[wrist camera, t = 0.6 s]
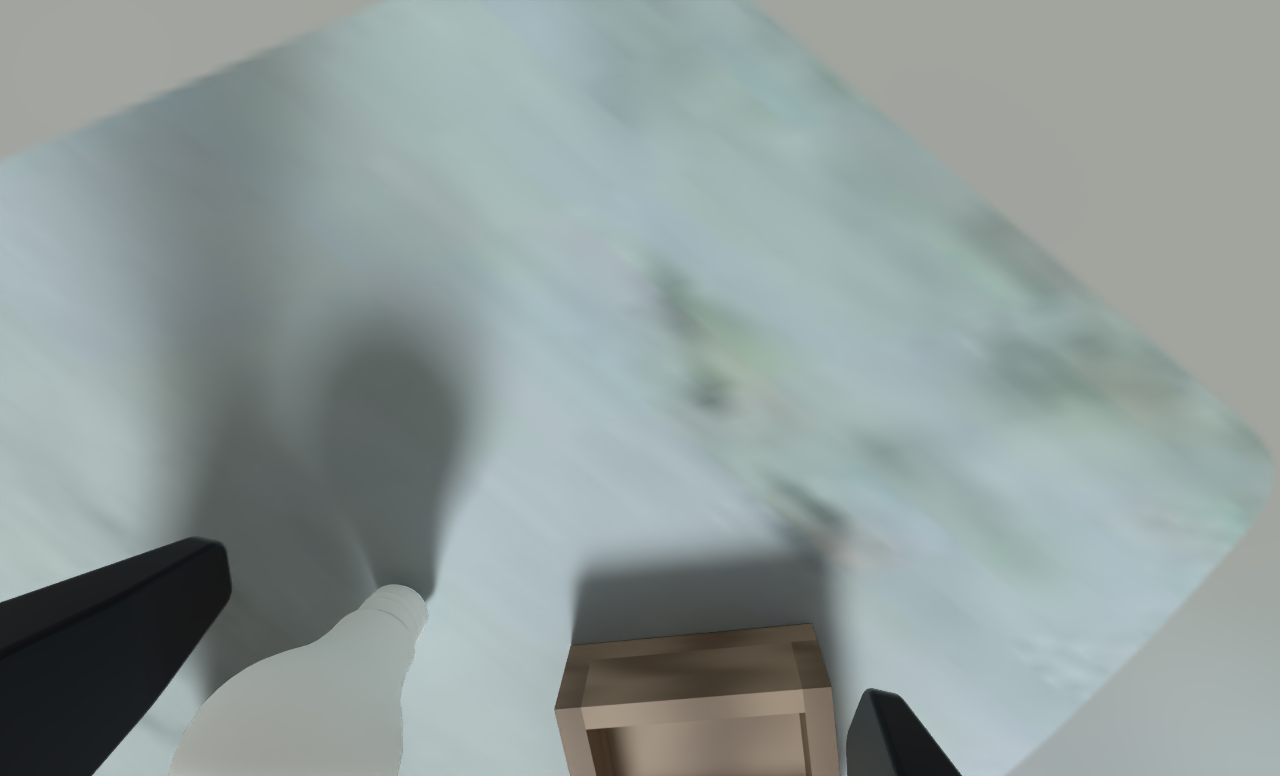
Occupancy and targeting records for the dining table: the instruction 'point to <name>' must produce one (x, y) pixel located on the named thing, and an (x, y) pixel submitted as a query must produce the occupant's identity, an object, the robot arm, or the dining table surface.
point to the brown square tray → (700, 706)
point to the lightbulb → (315, 702)
